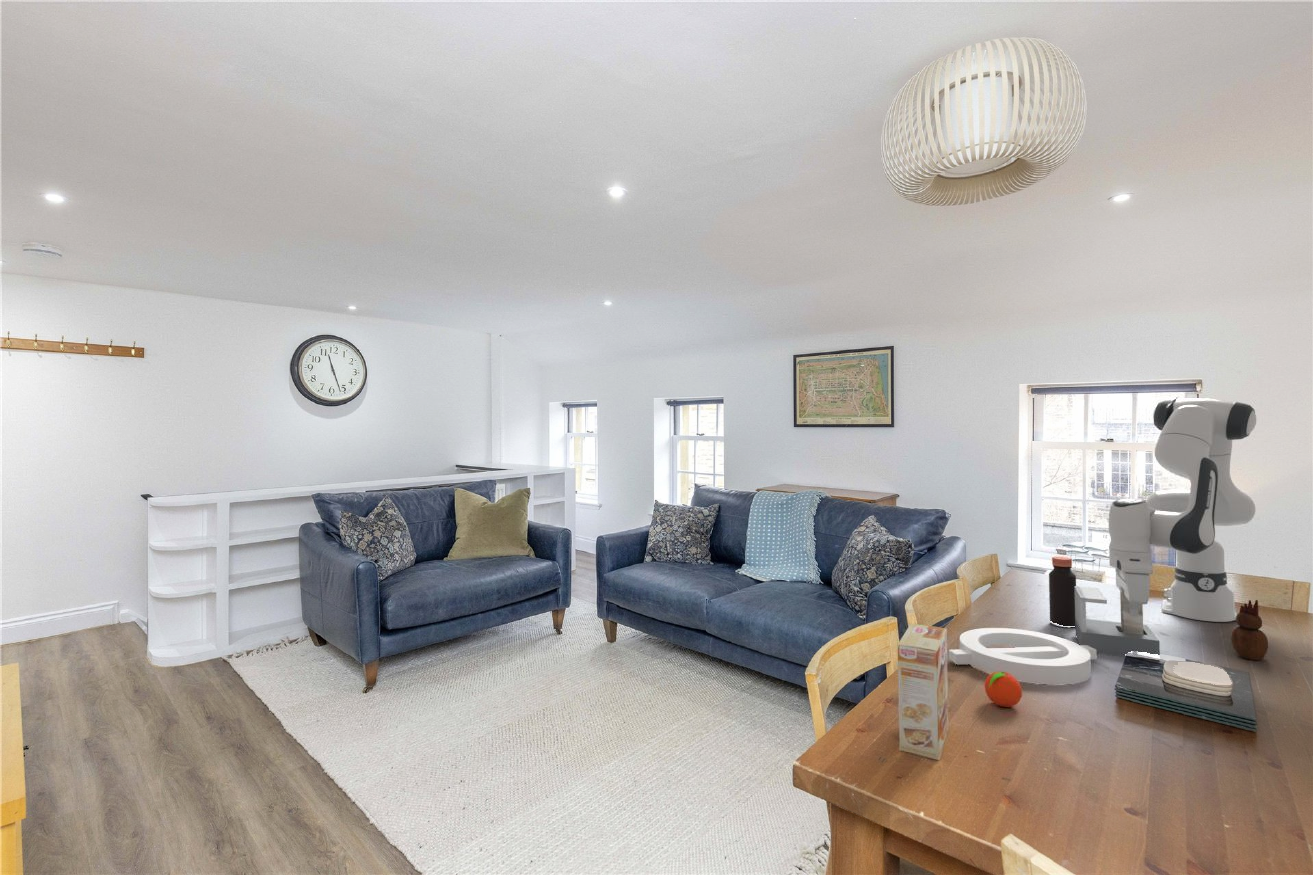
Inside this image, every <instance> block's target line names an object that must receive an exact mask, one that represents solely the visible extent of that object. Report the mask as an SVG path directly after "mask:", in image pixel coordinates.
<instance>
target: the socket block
mask: <svg viewBox="0 0 1313 875" xmlns="http://www.w3.org/2000/svg"><path fill="white" fill-rule="evenodd" d="M1074 587H1075V627H1074V629H1075V630H1074V631H1075V637H1076V636H1077V638H1078V640H1077V642H1078V641H1079V642H1078V644H1079V643H1080V645H1087V646H1090V647H1092V648H1094V649H1096V652H1097V654H1102V653H1103V655H1110V654H1112V655H1111V656H1119V657H1126V656H1125V654H1127V653H1128V652H1131V651H1138V652H1147V653H1150V654H1158V655H1160V656H1161V649H1160V639H1159V638H1158V636H1156V635H1155V634H1154V632H1153V631H1152V629H1151V628H1149V625H1147V624H1143V635H1141V634H1132V633H1123V632H1121V621H1119V622H1118V621H1109V620H1098V619H1089V618H1087V606H1086V605H1087V603H1090V604H1091V603H1092V604H1103V605H1107V604H1108V601H1107V598H1106V596H1105V595H1104V594H1103V593H1102V591H1101V590H1100V589H1099V587H1090V586H1088V587H1087V586H1081V585H1080V586H1079V585H1078V586H1077V585H1076V586H1074ZM1077 638H1076V639H1077Z"/></svg>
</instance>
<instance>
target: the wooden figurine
mask: <svg viewBox="0 0 1313 875" xmlns="http://www.w3.org/2000/svg"><path fill="white" fill-rule="evenodd" d="M1236 614H1237V616H1236V620H1235V622H1236V624H1237V625H1238V626H1236V627H1234V628H1233V629H1232V631H1231V636H1230V642H1231V645H1232V648H1233V650H1234V652H1235V653H1236V654H1237V655H1238V656H1240V657H1241V658H1243V659H1247V660H1250V661H1261V660H1263V659H1264V658H1265V657H1266V655H1267V652H1268V649H1269V641H1268V637H1267V634H1265V633H1264V631H1262V630H1260V629H1261V628H1262V626H1263V619H1262V617H1261V616H1260V615H1259V600H1258V599H1256V600H1255V601H1254V605H1253V603H1252V600H1250V599H1249V600H1248V603H1244V605H1240V608H1239V612H1238V613H1236Z"/></svg>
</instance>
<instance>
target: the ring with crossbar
mask: <svg viewBox="0 0 1313 875" xmlns="http://www.w3.org/2000/svg"><path fill="white" fill-rule="evenodd" d="M991 645H1011V646H1015V648H986V647H987V646H991ZM1097 654H1098V653H1097V652H1096V649H1094V648H1092V647H1090V646H1087V645H1079V643H1077V642H1073V641H1072V640H1070V639H1065V638H1063V637H1059V636H1056V635H1052V634H1048V633H1044V632H1038V631H1034V630H1033V631H1032V630H1028V629H1027V630H1026V629H1021V628H1020V629H1019V628H1007V627H1006V628H1005V627H985V628H984V627H983V628H982V627H981V628H976V629H970V630H967V631H965V632H962V633H961V634H960V635H959V649H957V648H956V649H948V660H949V659H950V660H952V661H953V662H954V663H955V664H954V663H953V662H952V661H951V662H952V663H953V664H954V665H956V664H957V665H968V664H972V665H975V666H976V667H979V668H980V669H983V670H985V671H989V672H990V673H994V672H1006V673H1009V674H1011V675H1012V676H1013V677H1015V678H1016V679H1017V680H1021V681H1025V682H1033V683H1039V684H1054V685H1053V686H1060V685H1059V684H1072V685H1076V684H1075V683H1078V684H1080V683H1079V682H1082V683H1084V682H1086V681H1088V680H1089V679H1090V678H1091V677H1090V676H1092V662H1091V661H1092V660H1097V657H1098V656H1097ZM950 660H949V661H950ZM1085 680H1086V681H1085ZM1083 681H1084V682H1083ZM1039 684H1038V685H1039ZM1055 684H1056V685H1055ZM1057 684H1058V685H1057Z"/></svg>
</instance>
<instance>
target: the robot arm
mask: <svg viewBox="0 0 1313 875" xmlns="http://www.w3.org/2000/svg"><path fill="white" fill-rule="evenodd" d="M1152 419H1153V425H1154V427H1156V428H1157V429H1158V430H1159V431H1161V432H1160V434H1159V437H1158V438H1157V442H1156V445H1155V448H1154V457H1155V459H1156V462H1157V463H1158V464H1159V465H1160V466H1161V467H1162V468H1163V469H1165V470H1166V471H1169V472H1170V473H1172V474H1173V475H1176V476H1178V477H1181V478H1184V479H1187V480H1188V481H1190V489H1166V490H1164V489H1163V490H1158V491H1153V492H1152V493H1151V494H1150V495H1149V496H1148V498H1147V500H1145V499H1142V498H1137V497H1136V498H1135V497H1128V498H1126V497H1125V498H1120V499H1119V498H1118V499H1116V500H1114V501H1113V502H1112V503H1111V504H1110V509H1109V513H1108V534H1109V537H1110V543H1109V546H1108V551H1109V552H1108V554H1109V558H1108V559H1109V566H1110V567H1112V568H1115V585H1116V587H1117V589H1118V590H1119V591H1120V586H1121V587H1122V588H1123V589H1124V596H1125V597H1126V598H1127V599H1128V600H1129V614H1130V615H1131V616H1135V617H1137V616H1138V615H1139V606H1140V604H1143V605H1147V604H1148V602H1149V600H1150V590H1151V588H1150V587H1151V585H1150V584H1151V575H1153V574H1154V567H1153V563H1152V562H1153V561H1152V558H1153V557H1152V556H1153V555H1152V553H1153V552H1152V547H1151V546H1153V547H1157V548H1163V549H1169V550H1175V557H1176V558H1175V559H1176V566H1175V568H1174V576H1173V577H1174V578H1173V579H1174V581H1173V582H1172V584H1171V586H1170V588H1164V589H1163V595H1164V597H1167V599H1162V600H1161V612H1162V613H1165V614H1170V615H1174V616H1178V617H1182V618H1185V619H1189V620H1190V619H1191V620H1197V621H1204V622H1215V623H1227V622H1228V623H1229V622H1232V621H1236V616H1237V614H1238V613H1237V612H1236V603H1235V594H1234V591H1233V590H1232V589H1230V588H1229V587H1228V586H1227V584H1228V576H1227V572H1226V571H1225V570H1226V569H1225V549H1224V547H1223V546H1222V544H1221V543H1219V541H1217V540H1215V538H1216V537H1215V536H1216V529H1215V528H1216V527H1230V526H1239V525H1245V524H1248V523H1250V522H1251V521H1252V520H1253V518H1254V517H1255V515H1256V505H1255V502H1254V501H1253V499H1252V498H1251V497H1250V496H1249V495H1248V494H1247V493H1245V492H1243V491H1242V490H1240V489H1239V488H1238V487H1236V486H1237V485H1235V484H1234V482H1233V480H1232V477H1231V470H1230V469H1231V457H1232V452H1233V451H1232V450H1233V441H1237V440H1243V439H1245V438H1247V437H1249V436H1250V435H1251V433H1252V431H1254V429H1255V428H1256V424H1257V415H1256V410H1255V409H1254V408H1253V407H1252V406H1251V405H1250V404H1247V403H1243V402H1238V401H1236V402H1233V401H1226V400H1223V399H1222V400H1221V399H1214V398H1213V399H1212V398H1188V397H1187V398H1184V397H1183V398H1179V397H1167V398H1164V399H1162V400H1160V401H1159V402H1158V403H1157V405H1156V407H1155V408H1154V411H1153V414H1152ZM1215 526H1216V527H1215Z"/></svg>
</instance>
